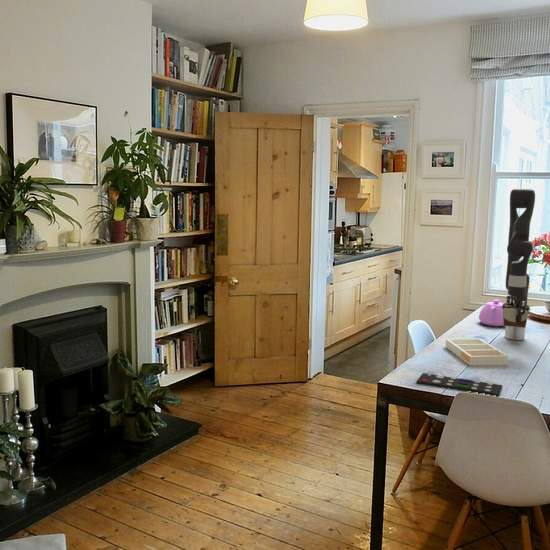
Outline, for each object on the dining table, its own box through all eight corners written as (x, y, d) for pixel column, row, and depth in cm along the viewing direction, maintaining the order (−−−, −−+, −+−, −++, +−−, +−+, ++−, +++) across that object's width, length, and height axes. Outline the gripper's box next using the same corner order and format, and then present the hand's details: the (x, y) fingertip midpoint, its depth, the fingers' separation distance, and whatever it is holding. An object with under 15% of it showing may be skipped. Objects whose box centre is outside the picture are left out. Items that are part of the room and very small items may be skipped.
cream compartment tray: (445, 347, 285) (445, 338, 284) (479, 346, 286) (479, 338, 286) (469, 365, 257) (469, 356, 256) (507, 364, 258) (508, 355, 257)
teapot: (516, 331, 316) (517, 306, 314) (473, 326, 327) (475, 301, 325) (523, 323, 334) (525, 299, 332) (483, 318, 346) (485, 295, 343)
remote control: (422, 376, 243) (422, 371, 243) (501, 388, 230) (502, 383, 230) (416, 384, 233) (416, 379, 233) (498, 398, 220) (498, 392, 220)
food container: (528, 324, 276) (530, 303, 274) (529, 328, 270) (530, 306, 268) (500, 322, 280) (501, 301, 278) (499, 325, 274) (501, 304, 273)
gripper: (533, 287, 264) (530, 324, 267) (517, 281, 278) (515, 316, 281) (516, 288, 264) (514, 325, 266) (502, 282, 278) (499, 317, 281)
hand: (514, 320), depth 274 cm, fingers closed on food container, 6 cm apart
